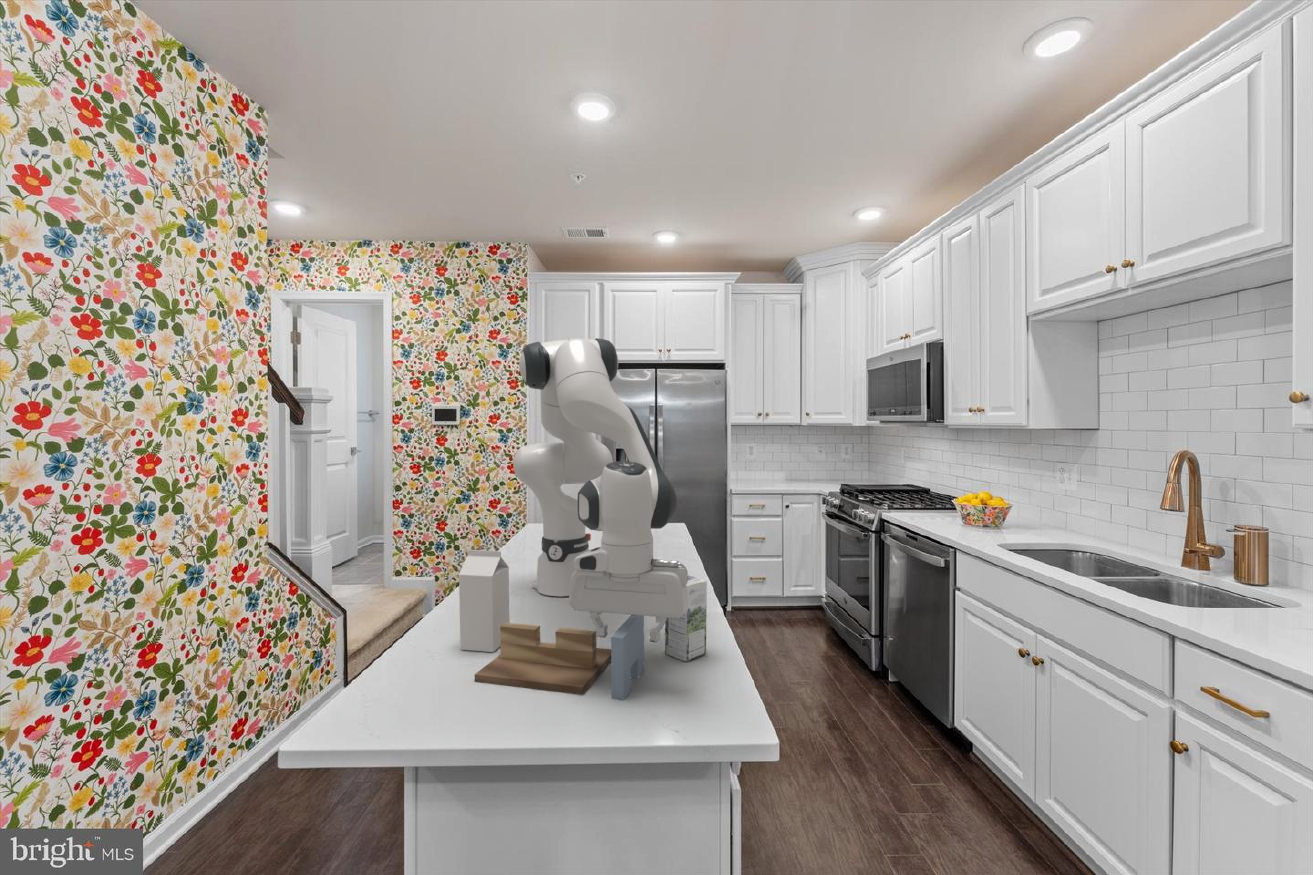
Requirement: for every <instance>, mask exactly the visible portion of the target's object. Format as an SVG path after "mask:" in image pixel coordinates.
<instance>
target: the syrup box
mask: <svg viewBox="0 0 1313 875" xmlns="http://www.w3.org/2000/svg"><path fill="white" fill-rule="evenodd" d="M707 586H708V581H707V580H705V579H703V578H700V577H698V576H694V575H691V574H690V575H689V574H688V581H687V584H686V586H685V587H686V594H687V610H686V612H685V613H684V615H683V616H682V617H681V618H667V620H666V622H665V623H664V626H665V627H664V630H665V633H664V638H665V639H664V641H665V644H664V653H665V655H668V656H670V657H672V658H675V659H678V660H681V661H683V662H686V663H688V662H689V661H692V660H695V659H697V658H699V657H701V656H704V655H705V654H706V653H707V610H708V609H707V607H708V606H707V604H708V603H707V598H708V597H707V596H708V595H707V592H708V590H707V588H708V587H707Z"/></svg>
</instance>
